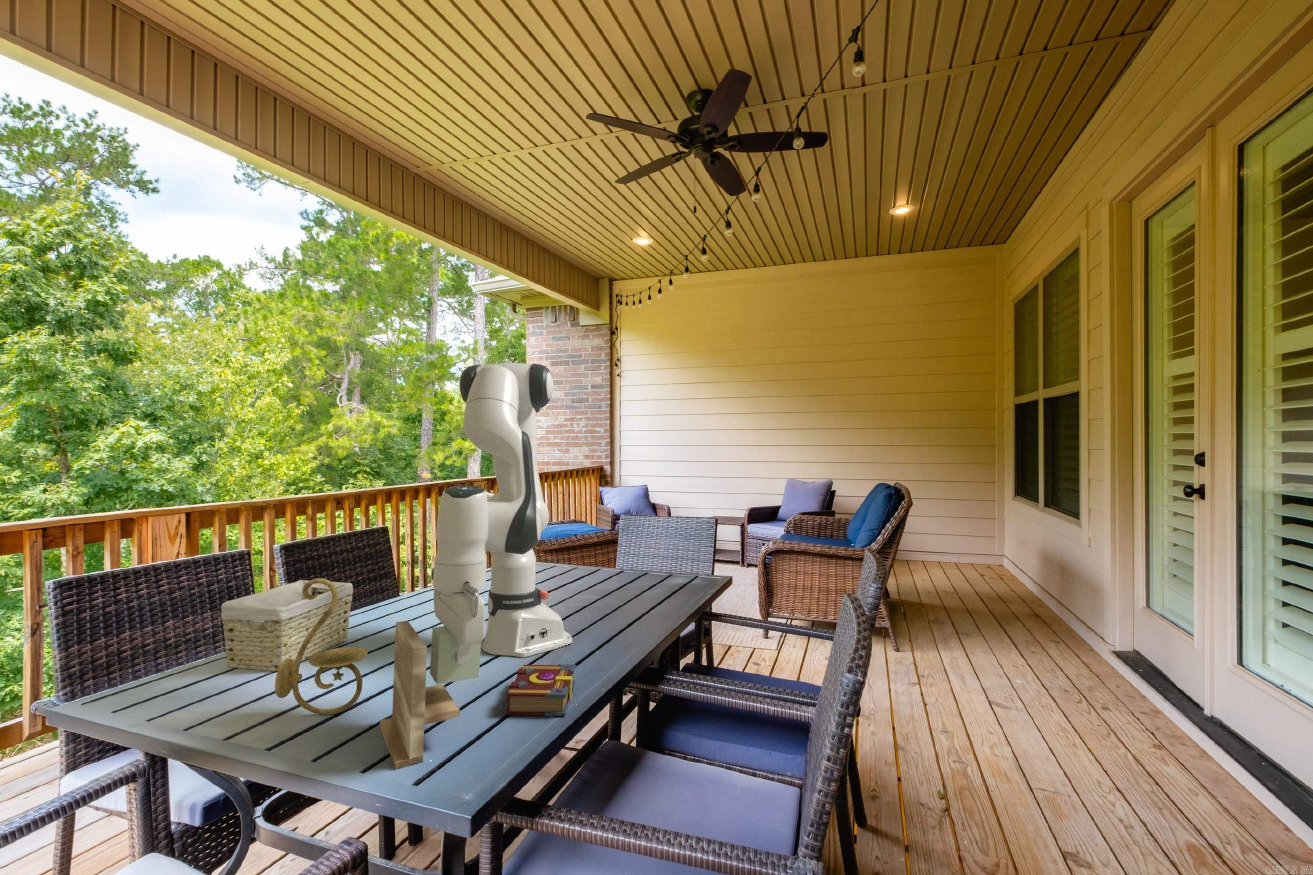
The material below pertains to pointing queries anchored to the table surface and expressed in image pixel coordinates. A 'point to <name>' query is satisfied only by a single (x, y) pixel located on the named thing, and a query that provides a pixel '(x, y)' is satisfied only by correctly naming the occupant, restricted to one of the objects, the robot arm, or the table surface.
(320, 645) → the storage basket
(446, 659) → the sage cabinet
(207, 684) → the table surface
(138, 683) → the table surface
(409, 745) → the wall board
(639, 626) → the table surface
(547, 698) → the decorative book
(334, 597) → the wall sconce
